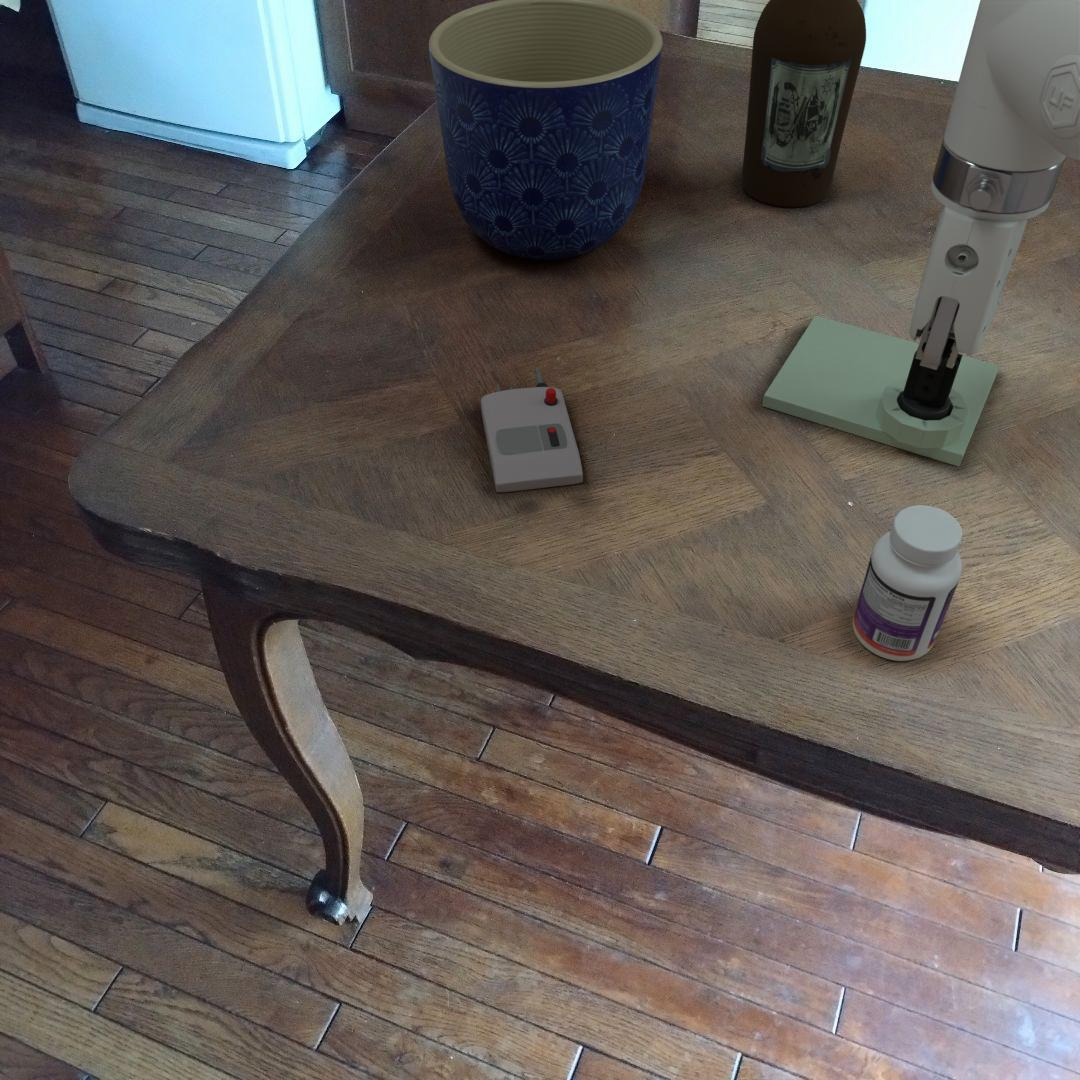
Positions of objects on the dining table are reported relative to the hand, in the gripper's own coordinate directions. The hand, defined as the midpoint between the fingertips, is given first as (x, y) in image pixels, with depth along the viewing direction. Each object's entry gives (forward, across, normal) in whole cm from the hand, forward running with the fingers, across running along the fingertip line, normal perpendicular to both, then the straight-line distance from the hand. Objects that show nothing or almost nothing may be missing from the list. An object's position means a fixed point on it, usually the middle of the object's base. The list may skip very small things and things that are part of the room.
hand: (925, 396), depth 82 cm
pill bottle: (+4, -21, -4) cm, 22 cm away
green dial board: (+4, +4, +4) cm, 7 cm away
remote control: (+4, -15, +27) cm, 31 cm away
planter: (+4, +14, +41) cm, 43 cm away
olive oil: (+4, +34, +23) cm, 41 cm away
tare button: (+2, 0, 0) cm, 2 cm away
